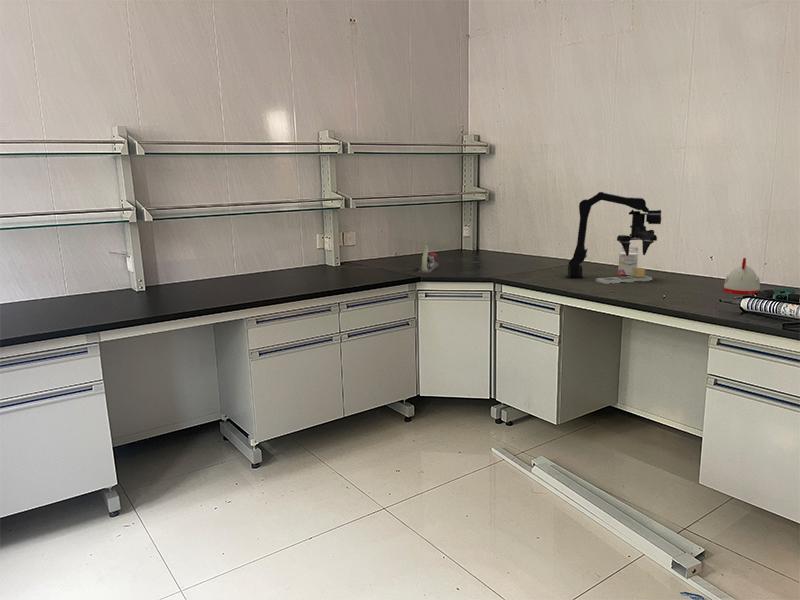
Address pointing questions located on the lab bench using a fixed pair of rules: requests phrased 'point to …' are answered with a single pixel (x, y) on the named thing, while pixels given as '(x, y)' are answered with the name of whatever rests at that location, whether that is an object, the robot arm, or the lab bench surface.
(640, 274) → the brass block
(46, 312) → the lab bench surface
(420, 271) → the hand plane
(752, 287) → the kitchen timer
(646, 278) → the grey compartment frame
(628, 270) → the ink cartridge box
